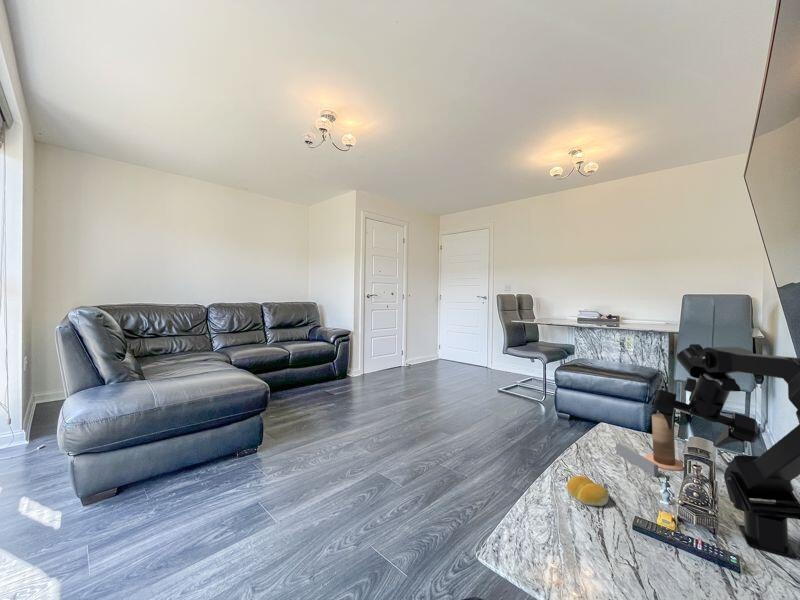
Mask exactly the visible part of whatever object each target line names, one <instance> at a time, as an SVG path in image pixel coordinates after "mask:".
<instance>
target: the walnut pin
mask: <svg viewBox="0 0 800 600" xmlns="http://www.w3.org/2000/svg"><path fill="white" fill-rule="evenodd" d="M674 421H675V420H674V418H673V425H672V429H671V430H670V429H669V428H668V424H667V421H666V419H665V417H664V416H663V414H660V413H653V414H651V429H652V430H651V431H652V454H653V459H654V461H655V462H657V463H659V464H663V465H668V466H673V465H675V459H676V447H675V446H676V445H675V444H676V443H675V424H674V423H675V422H674Z"/></svg>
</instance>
